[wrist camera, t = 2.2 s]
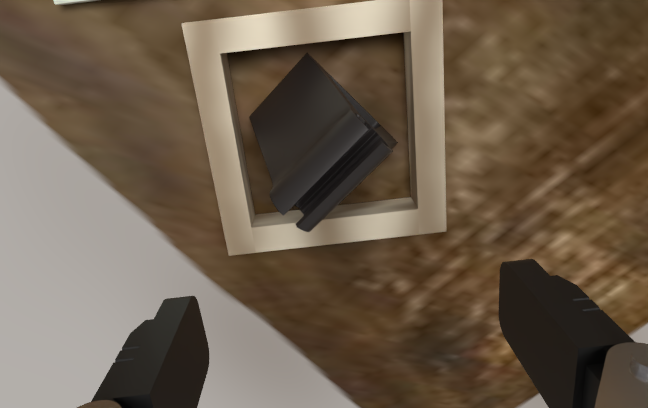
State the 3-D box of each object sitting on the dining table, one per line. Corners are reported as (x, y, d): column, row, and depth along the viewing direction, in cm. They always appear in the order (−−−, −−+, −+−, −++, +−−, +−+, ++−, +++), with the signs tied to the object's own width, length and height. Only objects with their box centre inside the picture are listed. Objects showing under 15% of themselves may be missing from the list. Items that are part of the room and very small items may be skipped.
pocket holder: (432, -5, 31) (442, -8, 29) (437, 218, 37) (446, 231, 34) (191, 23, 31) (181, 23, 29) (233, 241, 37) (228, 255, 35)
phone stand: (397, 141, 34) (438, 198, 23) (339, 197, 36) (352, 275, 25) (307, 51, 32) (306, 66, 21) (249, 115, 34) (219, 161, 22)
